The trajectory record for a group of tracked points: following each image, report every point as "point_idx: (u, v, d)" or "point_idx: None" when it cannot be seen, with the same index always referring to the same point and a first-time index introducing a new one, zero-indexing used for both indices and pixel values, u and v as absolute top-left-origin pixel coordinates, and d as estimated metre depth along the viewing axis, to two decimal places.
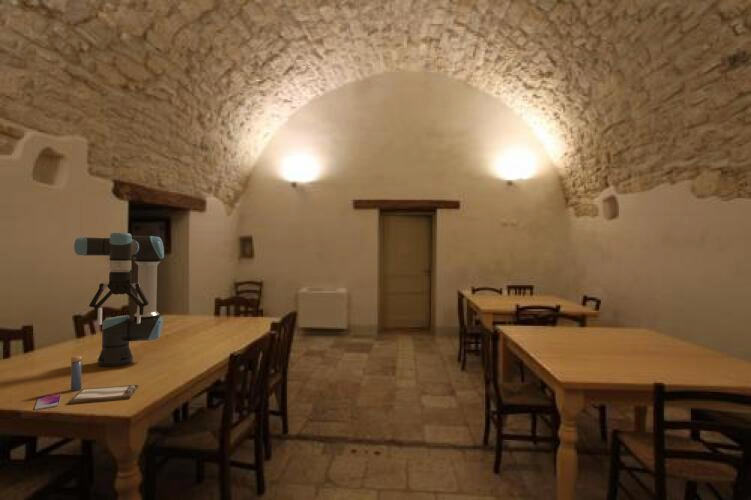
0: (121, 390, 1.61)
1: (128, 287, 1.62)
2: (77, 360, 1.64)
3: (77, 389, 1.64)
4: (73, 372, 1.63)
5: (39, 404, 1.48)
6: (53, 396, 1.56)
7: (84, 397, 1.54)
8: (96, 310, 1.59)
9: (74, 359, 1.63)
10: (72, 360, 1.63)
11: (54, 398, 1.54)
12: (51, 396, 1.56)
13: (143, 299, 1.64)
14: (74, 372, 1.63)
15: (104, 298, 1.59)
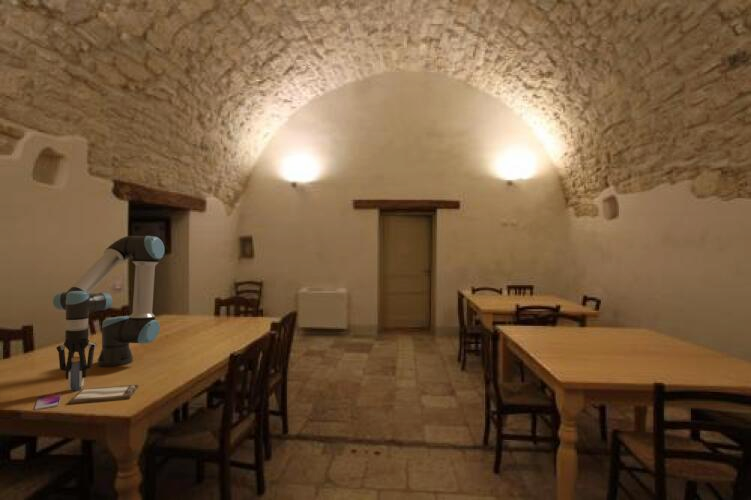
0: (121, 390, 1.61)
1: (83, 345, 1.65)
2: (77, 360, 1.64)
3: (77, 389, 1.64)
4: (73, 372, 1.63)
5: (39, 404, 1.48)
6: (53, 396, 1.56)
7: (84, 397, 1.54)
8: (67, 373, 1.63)
9: (74, 359, 1.63)
10: (72, 360, 1.63)
11: (54, 398, 1.54)
12: (51, 396, 1.56)
13: (89, 361, 1.65)
14: (75, 372, 1.63)
15: (68, 359, 1.63)
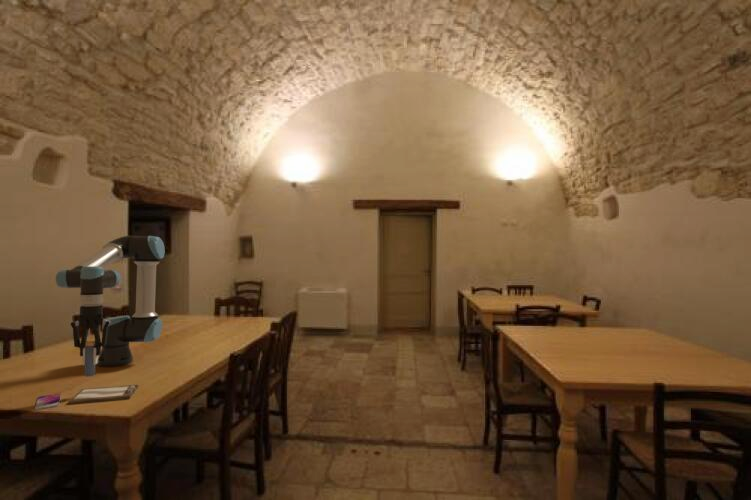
0: (121, 390, 1.61)
1: (98, 321, 1.60)
2: (91, 344, 1.59)
3: (91, 374, 1.59)
4: (87, 357, 1.59)
5: (39, 404, 1.48)
6: (53, 396, 1.56)
7: (84, 397, 1.54)
8: (81, 350, 1.59)
9: (88, 343, 1.59)
10: (86, 344, 1.59)
11: (54, 398, 1.54)
12: (51, 396, 1.56)
13: (103, 338, 1.61)
14: (89, 357, 1.59)
15: (83, 336, 1.59)
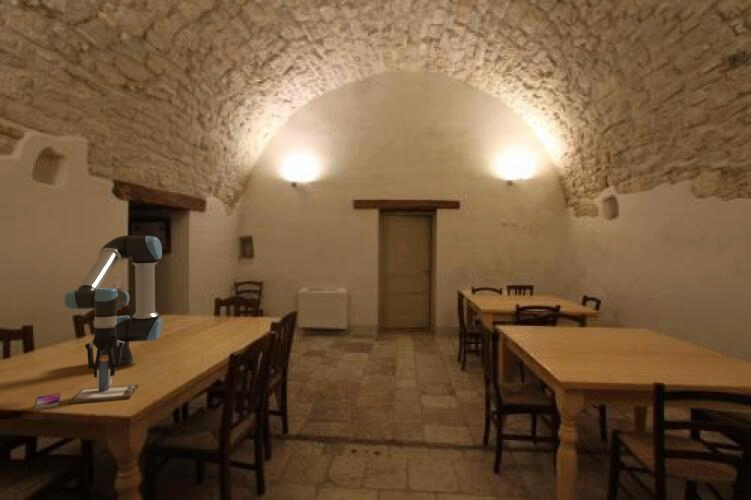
0: (121, 390, 1.61)
1: (112, 342, 1.62)
2: (105, 360, 1.61)
3: (105, 389, 1.61)
4: (101, 372, 1.60)
5: (39, 404, 1.48)
6: (53, 396, 1.56)
7: (84, 397, 1.54)
8: (95, 371, 1.60)
9: (102, 359, 1.60)
10: (100, 360, 1.60)
11: (54, 398, 1.54)
12: (51, 396, 1.56)
13: (117, 360, 1.62)
14: (103, 372, 1.60)
15: (97, 357, 1.60)
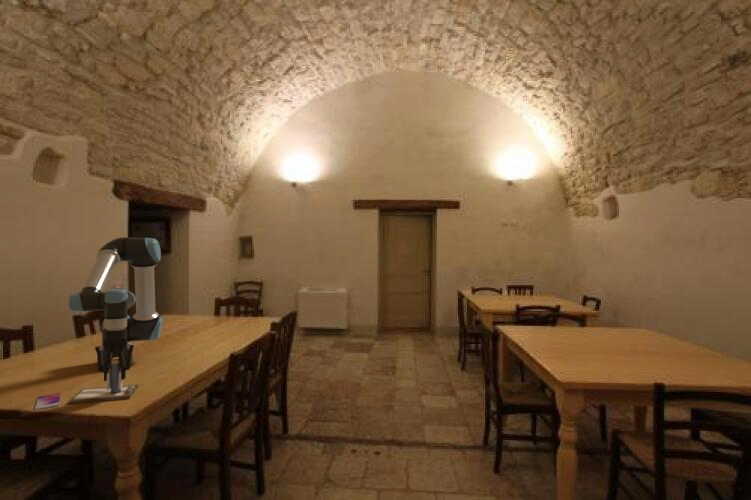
0: (121, 390, 1.61)
1: (122, 345, 1.58)
2: (116, 362, 1.57)
3: (117, 391, 1.59)
4: (112, 374, 1.57)
5: (39, 404, 1.48)
6: (53, 396, 1.56)
7: (84, 397, 1.54)
8: (105, 375, 1.56)
9: (113, 361, 1.57)
10: (111, 362, 1.57)
11: (54, 398, 1.54)
12: (51, 396, 1.56)
13: (128, 363, 1.59)
14: (114, 374, 1.57)
15: (107, 360, 1.56)
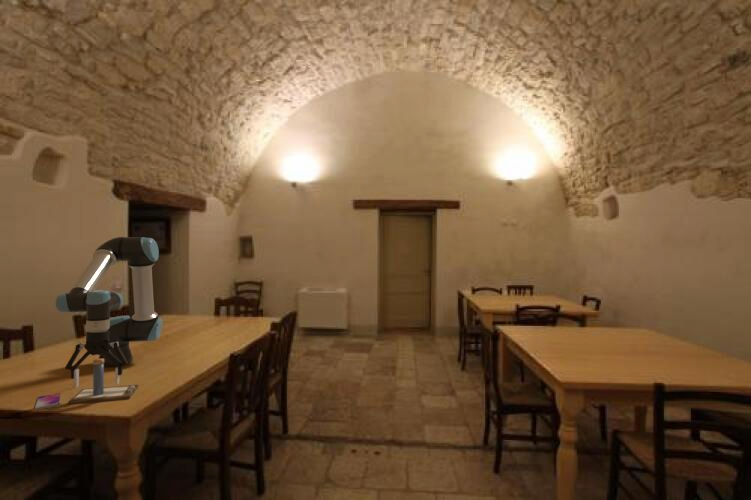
0: (121, 390, 1.61)
1: (106, 347, 1.56)
2: (100, 363, 1.56)
3: (100, 393, 1.57)
4: (96, 375, 1.56)
5: (39, 404, 1.48)
6: (53, 396, 1.56)
7: (84, 397, 1.54)
8: (72, 372, 1.53)
9: (97, 362, 1.56)
10: (95, 363, 1.56)
11: (54, 398, 1.54)
12: (51, 396, 1.56)
13: (122, 359, 1.58)
14: (97, 375, 1.56)
15: (81, 359, 1.53)
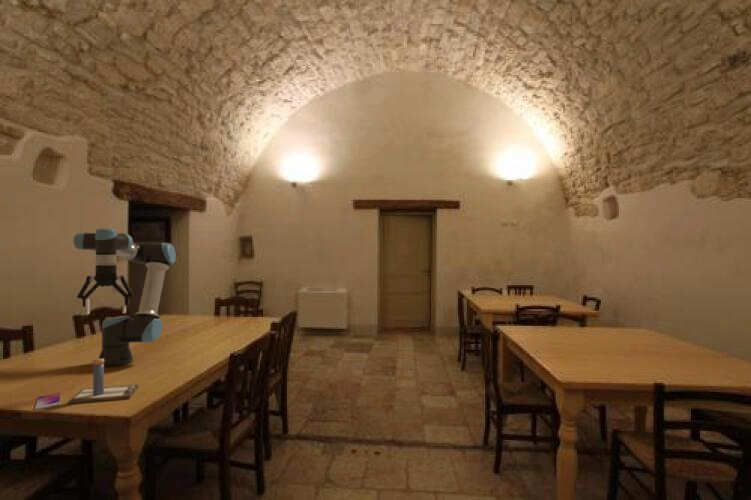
0: (121, 390, 1.61)
1: (114, 279, 1.73)
2: (100, 363, 1.57)
3: (100, 393, 1.57)
4: (96, 375, 1.56)
5: (39, 404, 1.48)
6: (53, 396, 1.56)
7: (84, 397, 1.54)
8: (84, 301, 1.70)
9: (97, 362, 1.56)
10: (95, 363, 1.56)
11: (54, 398, 1.54)
12: (51, 396, 1.56)
13: (128, 290, 1.75)
14: (98, 375, 1.56)
15: (91, 290, 1.70)
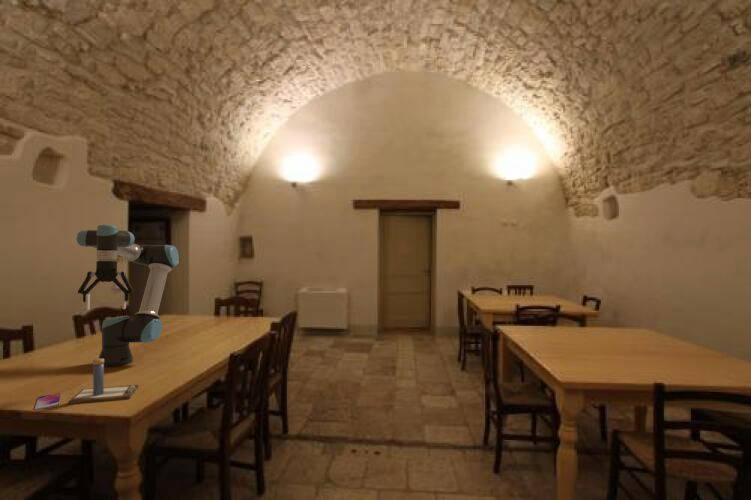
0: (121, 390, 1.61)
1: (114, 275, 1.75)
2: (100, 363, 1.57)
3: (100, 393, 1.57)
4: (96, 375, 1.56)
5: (39, 404, 1.48)
6: (53, 396, 1.56)
7: (84, 397, 1.54)
8: (84, 296, 1.72)
9: (97, 362, 1.56)
10: (95, 363, 1.56)
11: (54, 398, 1.54)
12: (51, 396, 1.56)
13: (128, 286, 1.77)
14: (97, 375, 1.56)
15: (91, 285, 1.72)
